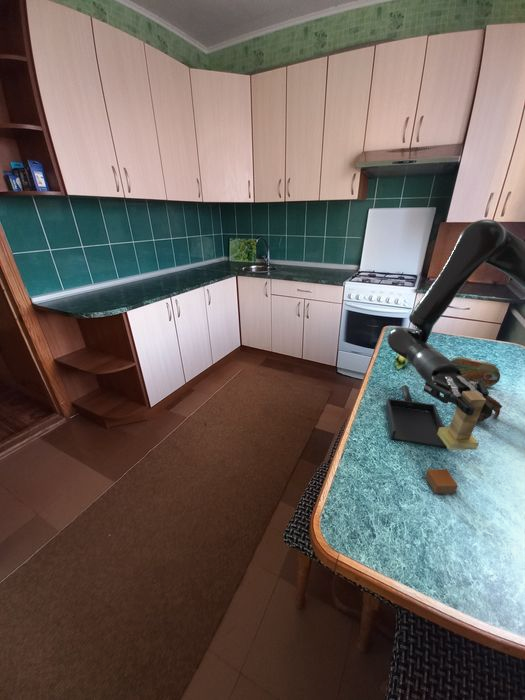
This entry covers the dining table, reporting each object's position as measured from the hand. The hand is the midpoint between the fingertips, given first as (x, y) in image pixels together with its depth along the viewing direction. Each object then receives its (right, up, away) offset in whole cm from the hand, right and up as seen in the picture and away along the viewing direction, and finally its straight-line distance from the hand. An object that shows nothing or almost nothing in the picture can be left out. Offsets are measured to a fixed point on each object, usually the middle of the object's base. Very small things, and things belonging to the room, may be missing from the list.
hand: (480, 411), depth 59 cm
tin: (+28, +1, +43) cm, 52 cm away
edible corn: (+13, +9, +58) cm, 60 cm away
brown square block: (-4, -18, +7) cm, 20 cm away
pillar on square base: (0, -8, +8) cm, 11 cm away
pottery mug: (+19, -7, +27) cm, 34 cm away
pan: (0, -7, +28) cm, 29 cm away
